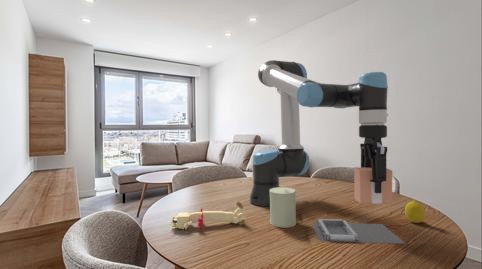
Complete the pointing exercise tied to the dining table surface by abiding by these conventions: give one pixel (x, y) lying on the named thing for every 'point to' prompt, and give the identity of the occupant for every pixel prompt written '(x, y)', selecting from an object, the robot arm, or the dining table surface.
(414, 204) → the lemon
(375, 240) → the pocket plate
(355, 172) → the terracotta block
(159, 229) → the dining table surface
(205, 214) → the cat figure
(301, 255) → the dining table surface
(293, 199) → the can
